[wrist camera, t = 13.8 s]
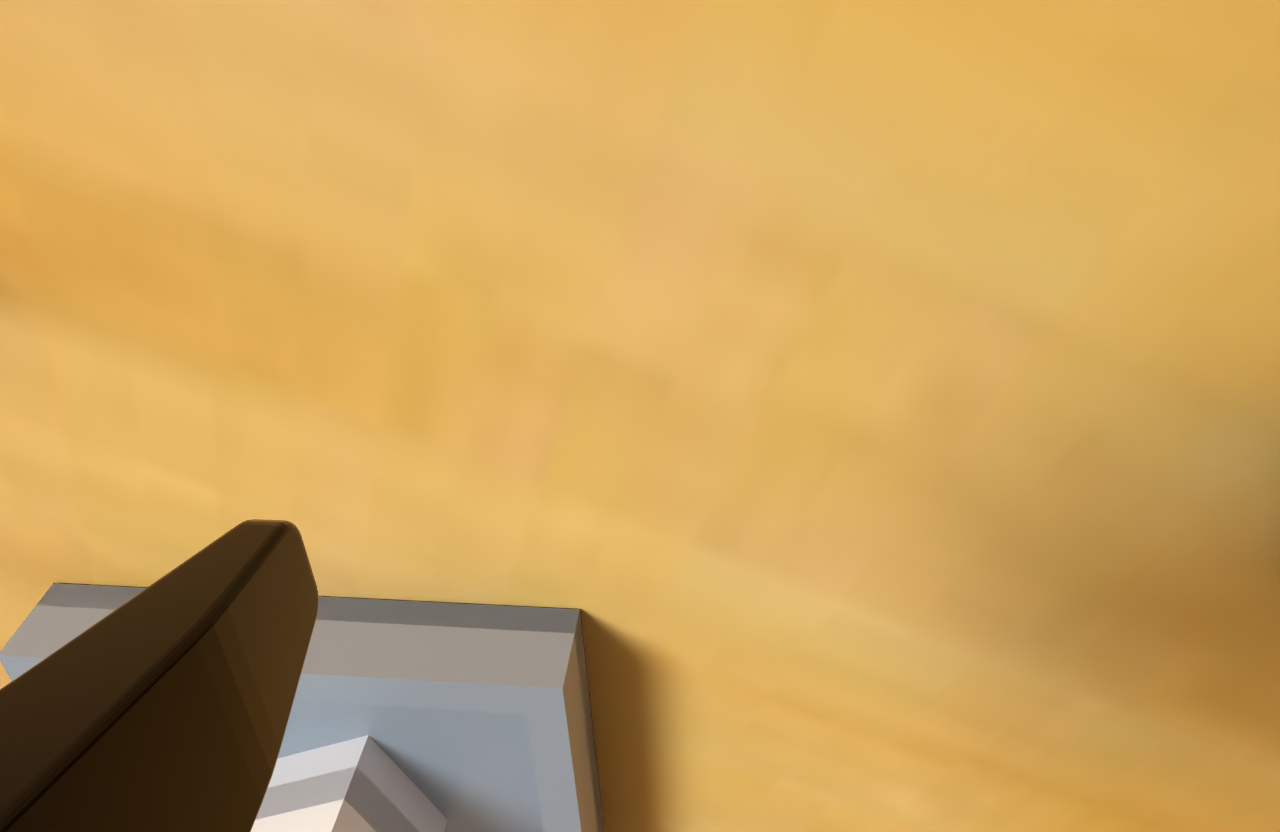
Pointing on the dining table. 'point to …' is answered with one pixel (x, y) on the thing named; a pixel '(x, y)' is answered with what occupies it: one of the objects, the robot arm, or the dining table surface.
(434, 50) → the dining table surface
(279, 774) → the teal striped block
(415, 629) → the tray
